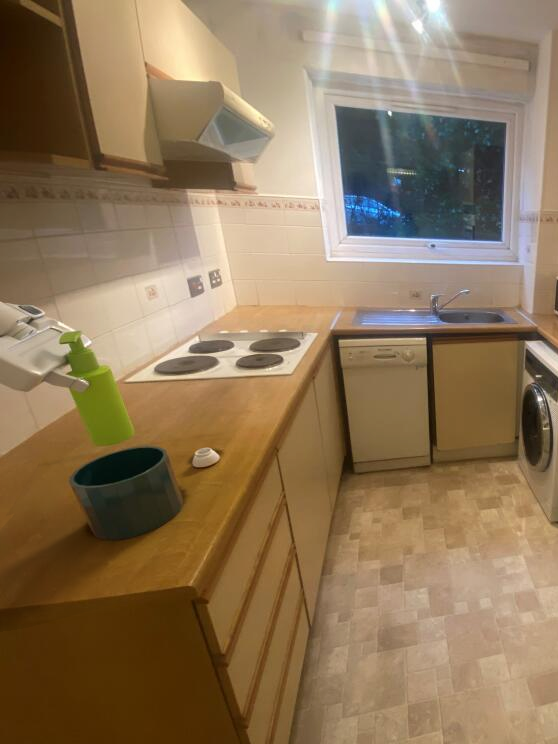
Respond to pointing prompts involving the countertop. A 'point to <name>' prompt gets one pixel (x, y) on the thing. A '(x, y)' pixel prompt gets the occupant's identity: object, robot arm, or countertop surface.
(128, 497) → the canister
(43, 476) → the countertop surface
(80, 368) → the soap dispenser
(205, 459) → the white bowl
